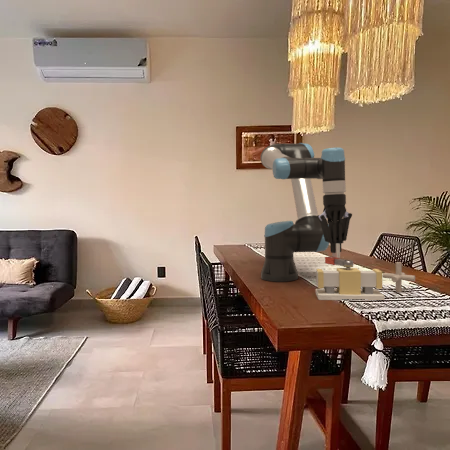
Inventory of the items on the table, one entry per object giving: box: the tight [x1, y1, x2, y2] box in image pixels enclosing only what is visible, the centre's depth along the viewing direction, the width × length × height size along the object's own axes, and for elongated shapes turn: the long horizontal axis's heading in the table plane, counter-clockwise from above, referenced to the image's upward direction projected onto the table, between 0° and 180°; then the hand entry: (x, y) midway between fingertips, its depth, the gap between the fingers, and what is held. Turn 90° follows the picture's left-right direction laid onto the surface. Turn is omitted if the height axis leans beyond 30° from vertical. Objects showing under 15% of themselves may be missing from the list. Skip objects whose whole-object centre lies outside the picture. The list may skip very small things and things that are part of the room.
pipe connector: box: [382, 261, 416, 293], centre depth 128 cm, size 10×10×10 cm
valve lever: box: [324, 256, 354, 268], centre depth 126 cm, size 12×3×2 cm, turn 24°
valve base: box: [315, 267, 385, 301], centre depth 123 cm, size 9×20×10 cm, turn 82°
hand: (336, 262), depth 130 cm, fingers closed
